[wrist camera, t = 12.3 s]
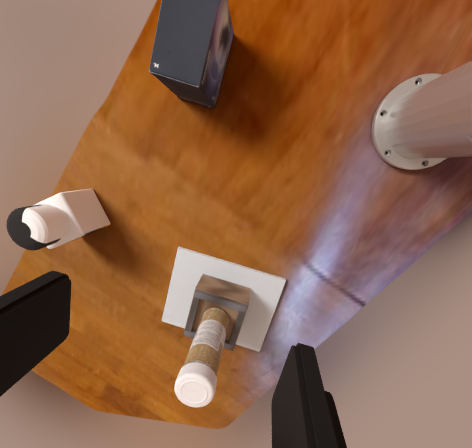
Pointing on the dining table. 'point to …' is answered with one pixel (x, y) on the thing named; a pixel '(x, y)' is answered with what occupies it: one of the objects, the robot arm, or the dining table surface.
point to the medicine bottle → (57, 220)
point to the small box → (192, 48)
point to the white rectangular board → (260, 283)
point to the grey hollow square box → (219, 306)
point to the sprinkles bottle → (203, 360)
